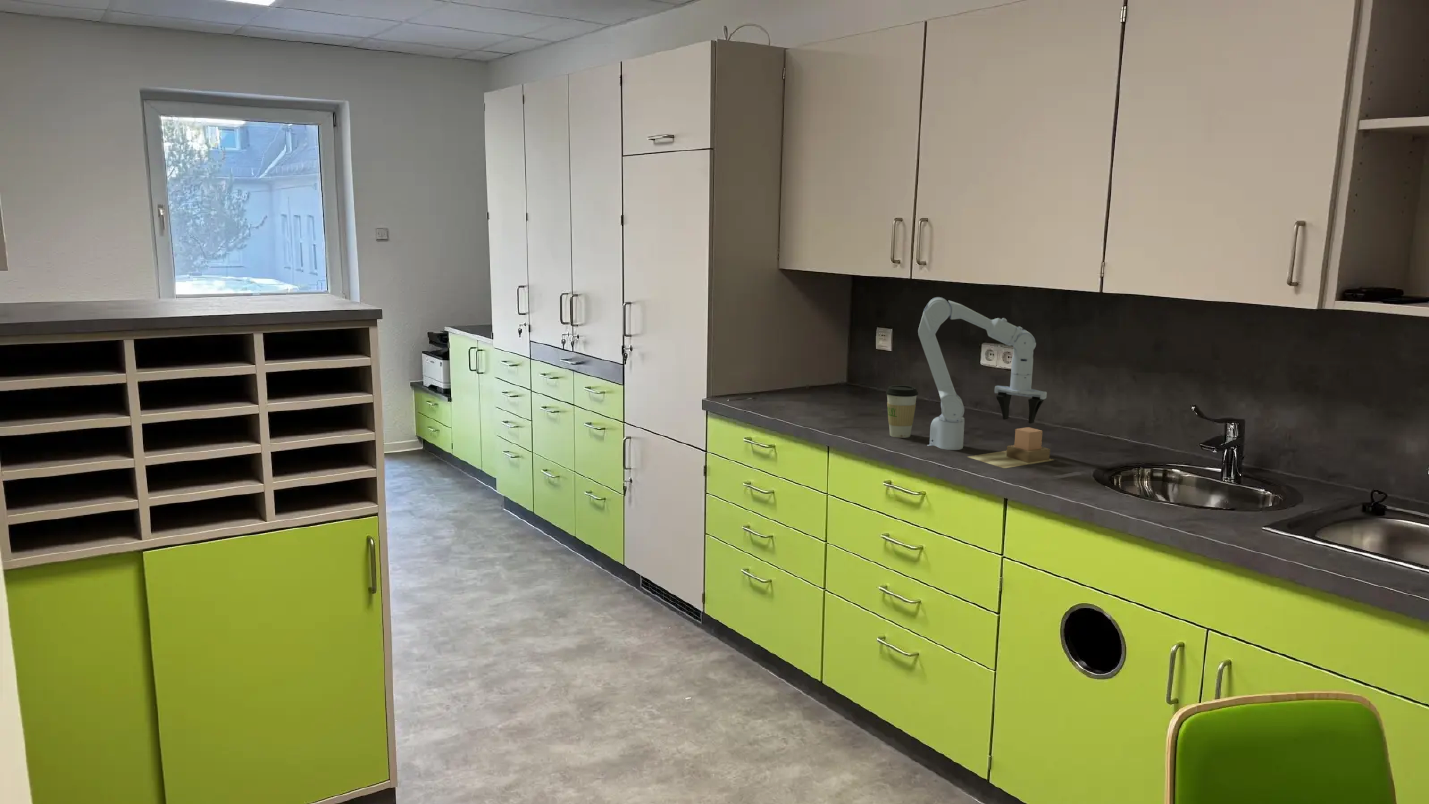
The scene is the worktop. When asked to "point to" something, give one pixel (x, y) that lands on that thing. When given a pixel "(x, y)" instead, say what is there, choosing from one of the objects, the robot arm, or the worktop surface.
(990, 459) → the stacking base
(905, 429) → the coffee cup
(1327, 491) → the worktop surface
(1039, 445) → the cube
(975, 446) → the worktop surface
